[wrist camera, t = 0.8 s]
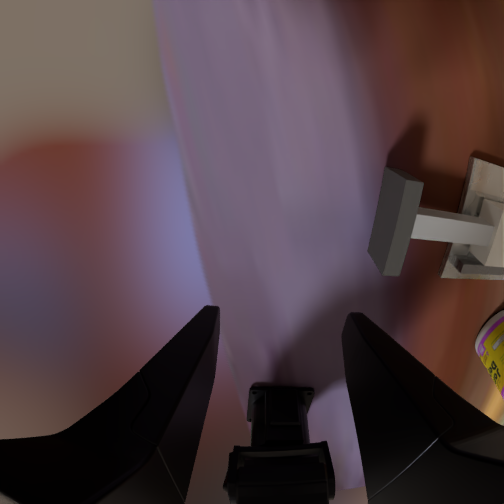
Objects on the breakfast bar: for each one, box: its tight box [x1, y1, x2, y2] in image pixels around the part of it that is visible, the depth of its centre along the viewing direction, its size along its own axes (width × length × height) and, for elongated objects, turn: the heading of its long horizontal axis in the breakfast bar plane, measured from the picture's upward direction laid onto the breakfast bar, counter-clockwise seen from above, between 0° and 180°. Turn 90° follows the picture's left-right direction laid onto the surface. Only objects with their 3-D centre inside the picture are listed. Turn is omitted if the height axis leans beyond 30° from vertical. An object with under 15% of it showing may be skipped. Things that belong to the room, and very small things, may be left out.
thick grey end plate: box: [368, 167, 504, 276], centre depth 17 cm, size 8×13×3 cm, turn 86°
